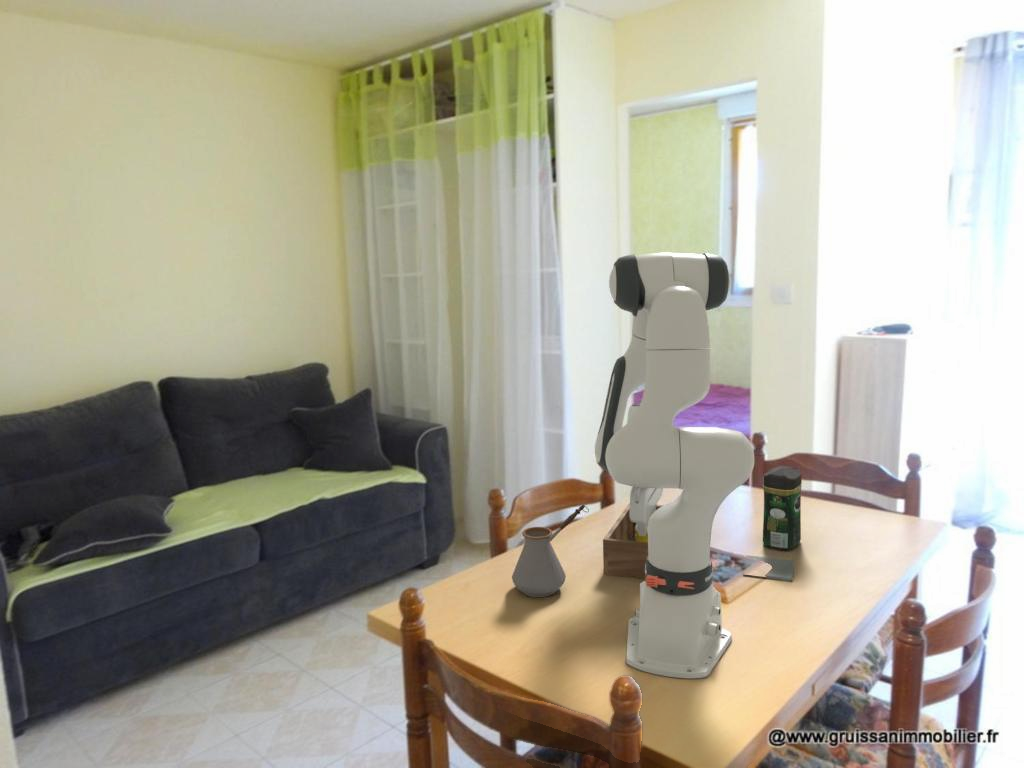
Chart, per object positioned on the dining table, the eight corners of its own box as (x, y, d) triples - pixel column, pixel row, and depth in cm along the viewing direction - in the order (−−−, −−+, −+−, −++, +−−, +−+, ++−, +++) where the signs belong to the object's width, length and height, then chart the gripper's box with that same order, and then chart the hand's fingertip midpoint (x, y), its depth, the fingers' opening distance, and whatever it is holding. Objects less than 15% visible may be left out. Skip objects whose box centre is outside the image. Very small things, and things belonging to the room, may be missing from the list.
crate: (666, 581, 157) (666, 546, 156) (603, 573, 162) (602, 539, 161) (686, 538, 181) (686, 507, 179) (630, 532, 186) (629, 502, 185)
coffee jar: (771, 534, 181) (772, 461, 178) (804, 540, 177) (806, 466, 174) (757, 546, 174) (758, 471, 171) (791, 553, 169) (793, 476, 166)
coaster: (792, 581, 155) (792, 578, 155) (743, 575, 159) (743, 572, 159) (793, 562, 164) (793, 560, 164) (746, 557, 168) (746, 555, 168)
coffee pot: (539, 606, 148) (536, 536, 146) (501, 590, 156) (498, 523, 154) (607, 574, 162) (605, 509, 160) (568, 560, 171) (567, 498, 168)
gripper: (650, 485, 158) (651, 546, 160) (668, 459, 176) (668, 513, 179) (622, 483, 160) (623, 542, 163) (642, 457, 179) (642, 511, 181)
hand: (646, 527), depth 171 cm, fingers open, 8 cm apart
